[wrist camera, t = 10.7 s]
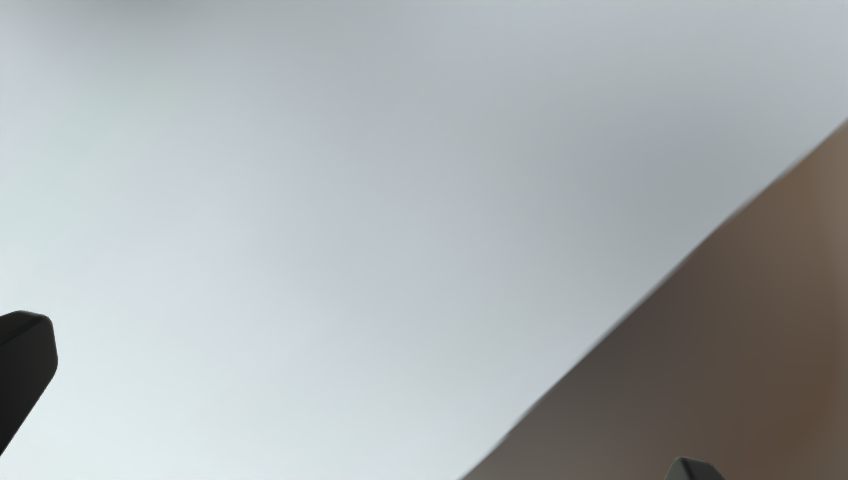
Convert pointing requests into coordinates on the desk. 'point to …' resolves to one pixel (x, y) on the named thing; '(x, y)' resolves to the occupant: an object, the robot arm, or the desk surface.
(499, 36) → the desk surface
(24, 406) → the robot arm
